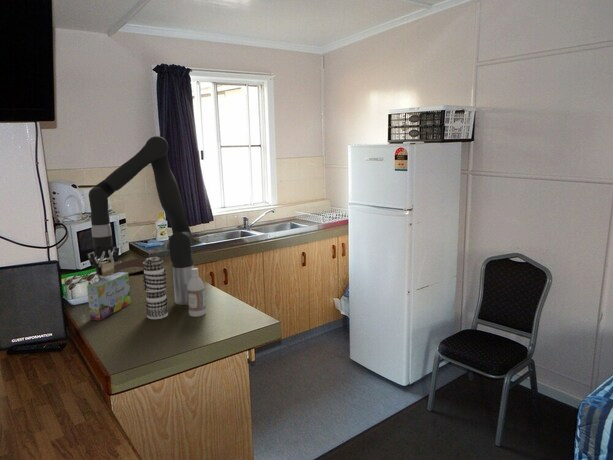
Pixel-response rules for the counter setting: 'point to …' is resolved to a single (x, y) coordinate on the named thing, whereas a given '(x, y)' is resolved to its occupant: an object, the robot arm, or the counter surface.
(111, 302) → the snack box
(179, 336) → the counter surface
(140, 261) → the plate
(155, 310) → the decorative candle
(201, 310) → the bath foam
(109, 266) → the maple block
